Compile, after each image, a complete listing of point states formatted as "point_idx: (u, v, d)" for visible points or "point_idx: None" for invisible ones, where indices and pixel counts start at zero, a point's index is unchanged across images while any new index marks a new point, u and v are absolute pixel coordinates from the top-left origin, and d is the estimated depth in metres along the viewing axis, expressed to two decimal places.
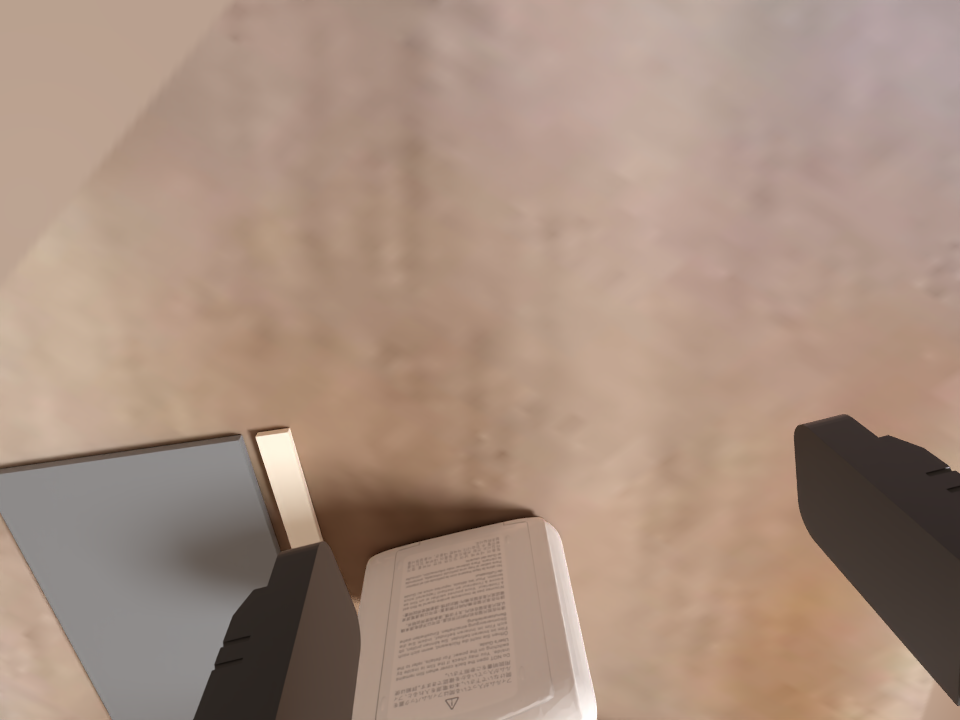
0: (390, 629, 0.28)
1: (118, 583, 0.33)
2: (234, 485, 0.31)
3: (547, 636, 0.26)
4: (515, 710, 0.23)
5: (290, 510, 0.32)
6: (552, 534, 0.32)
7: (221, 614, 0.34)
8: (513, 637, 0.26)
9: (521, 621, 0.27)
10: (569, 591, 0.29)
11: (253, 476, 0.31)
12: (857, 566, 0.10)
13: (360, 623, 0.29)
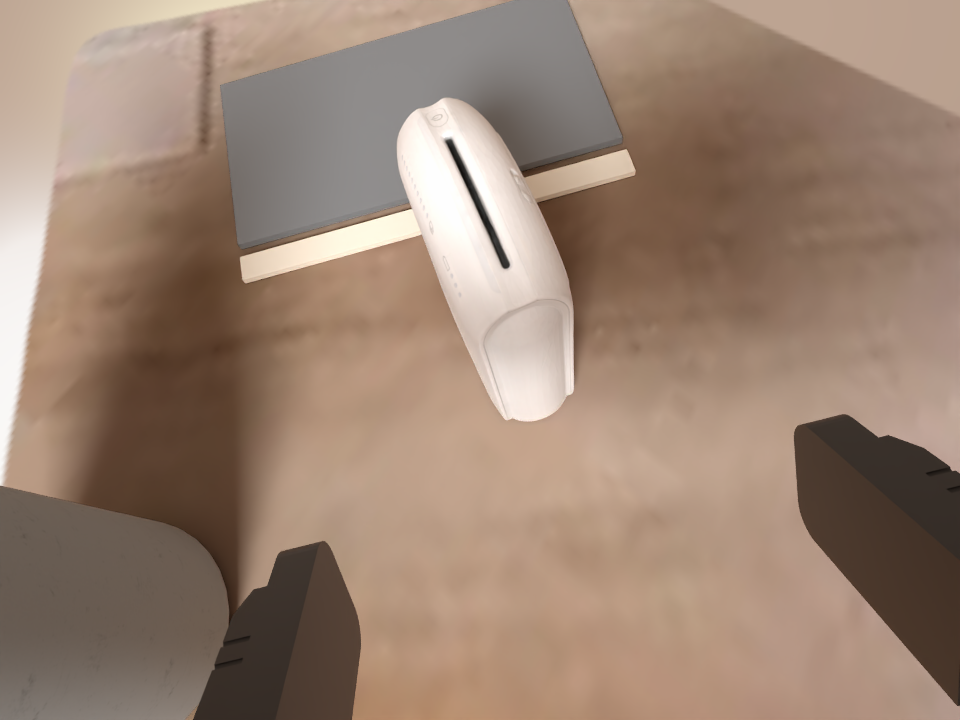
0: None
1: (463, 63, 0.39)
2: (576, 136, 0.36)
3: None
4: (551, 238, 0.23)
5: (553, 177, 0.36)
6: (561, 399, 0.31)
7: None
8: None
9: None
10: (552, 381, 0.27)
11: (583, 150, 0.36)
12: (857, 566, 0.10)
13: None
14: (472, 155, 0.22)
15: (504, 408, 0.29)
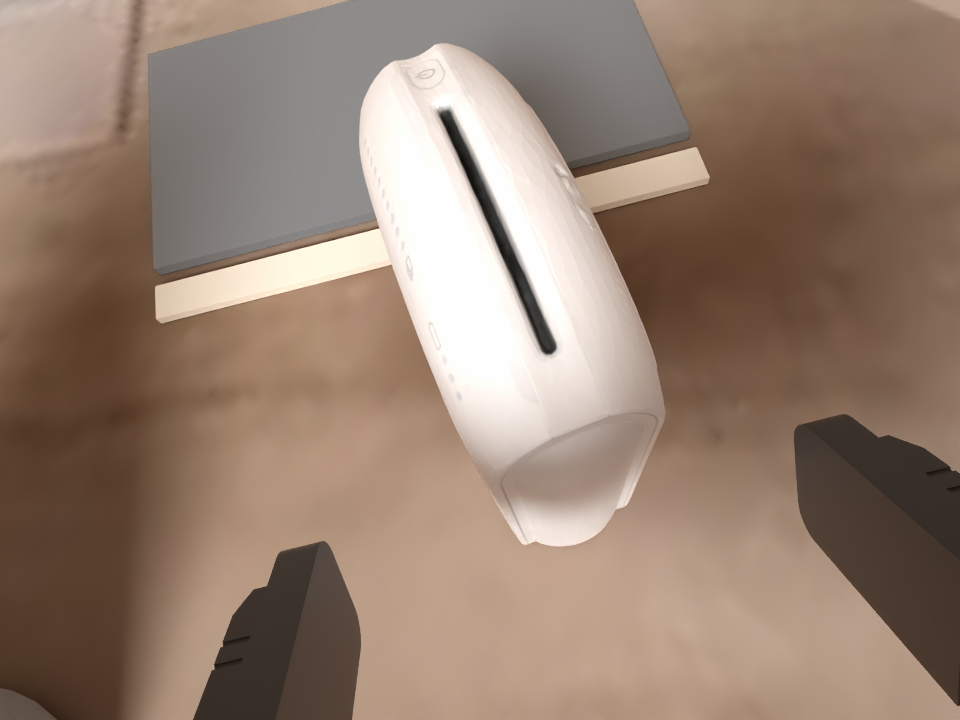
0: None
1: (471, 29, 0.29)
2: (625, 128, 0.26)
3: None
4: (628, 292, 0.12)
5: (593, 185, 0.26)
6: (609, 518, 0.20)
7: None
8: None
9: None
10: (604, 509, 0.17)
11: (635, 148, 0.26)
12: (857, 566, 0.10)
13: None
14: (487, 138, 0.12)
15: (524, 537, 0.19)
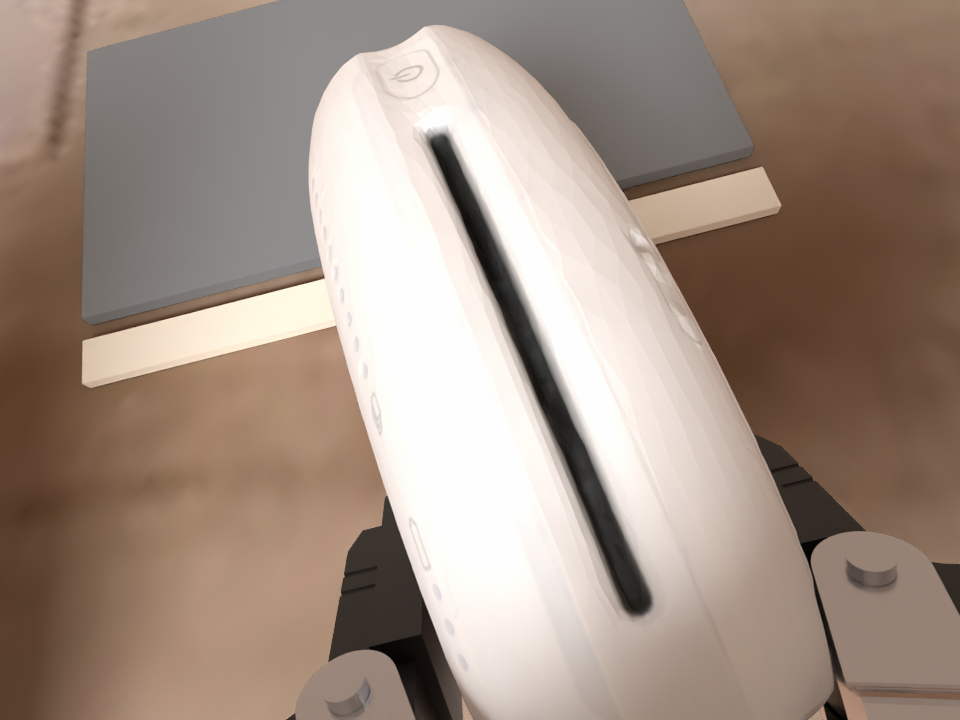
0: None
1: (477, 21, 0.24)
2: (671, 143, 0.21)
3: None
4: (762, 457, 0.07)
5: None
6: None
7: None
8: None
9: None
10: None
11: (685, 168, 0.21)
12: None
13: None
14: (512, 188, 0.07)
15: None
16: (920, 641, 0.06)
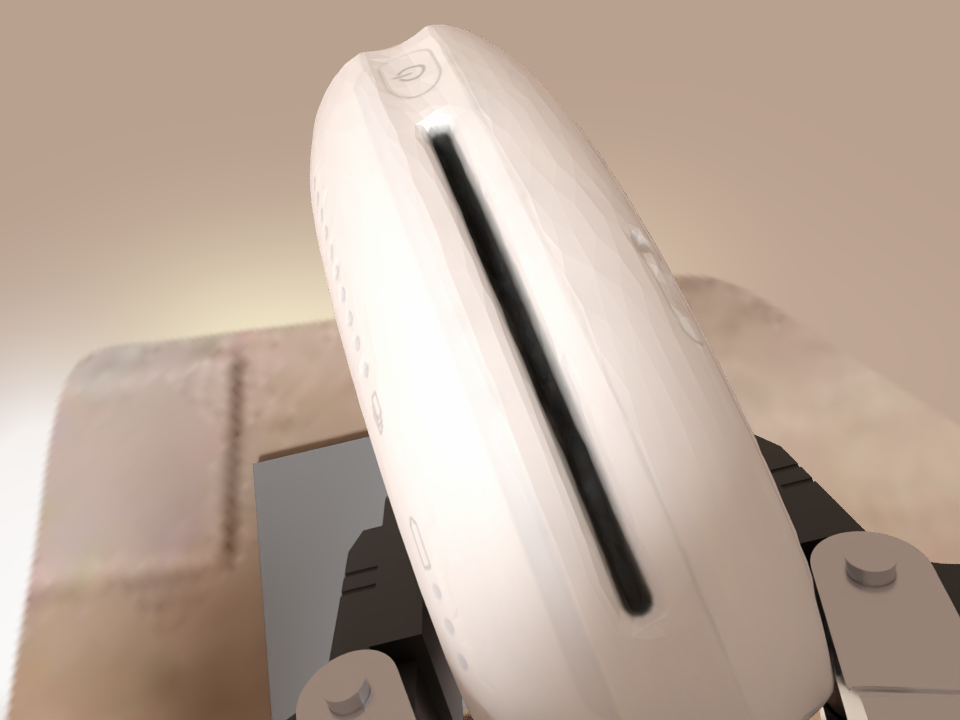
0: None
1: None
2: None
3: None
4: (763, 457, 0.07)
5: None
6: None
7: None
8: None
9: None
10: None
11: None
12: None
13: None
14: (514, 186, 0.07)
15: None
16: (918, 641, 0.06)
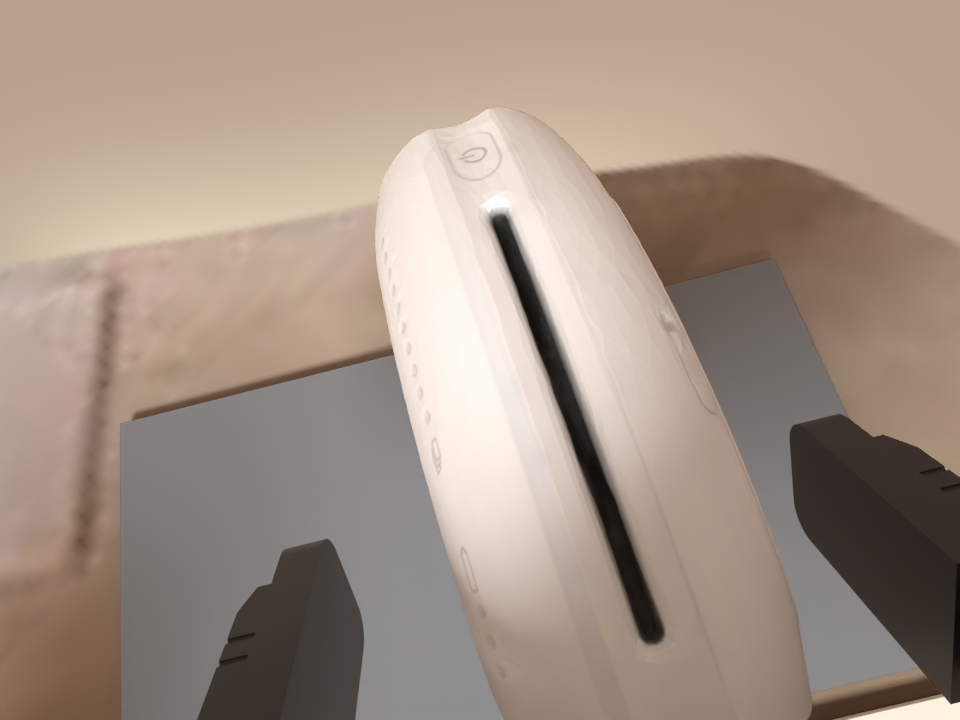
0: None
1: None
2: (852, 642, 0.17)
3: None
4: None
5: None
6: None
7: None
8: None
9: None
10: None
11: (870, 677, 0.17)
12: (852, 565, 0.10)
13: None
14: (563, 274, 0.08)
15: None
16: None
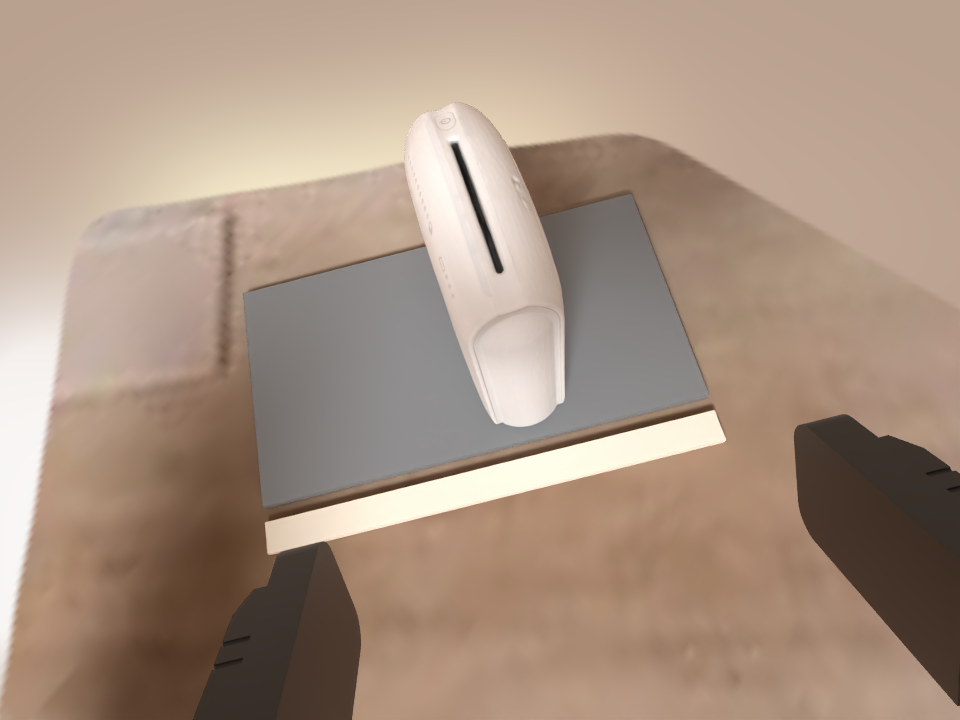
0: None
1: None
2: (654, 389, 0.32)
3: None
4: (547, 247, 0.23)
5: (629, 442, 0.31)
6: (551, 408, 0.31)
7: None
8: None
9: None
10: (542, 389, 0.28)
11: (663, 407, 0.32)
12: (857, 566, 0.10)
13: None
14: (475, 160, 0.23)
15: (494, 412, 0.30)
16: None
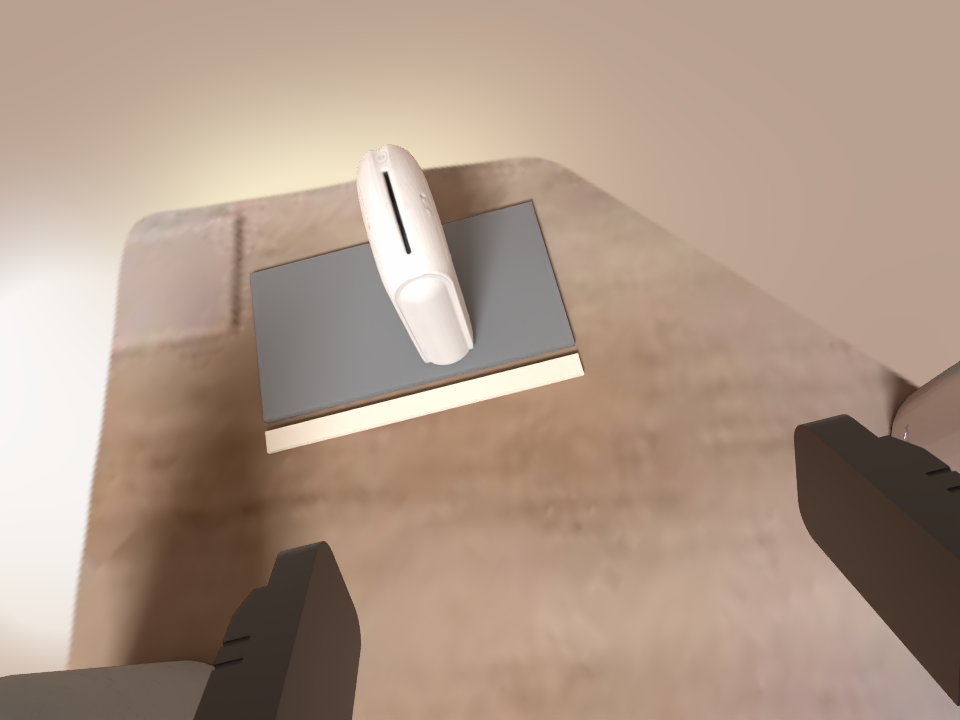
0: None
1: None
2: (538, 339, 0.45)
3: (457, 286, 0.39)
4: (442, 237, 0.37)
5: (518, 375, 0.45)
6: (464, 351, 0.44)
7: None
8: (454, 269, 0.39)
9: (457, 280, 0.40)
10: (450, 334, 0.41)
11: (543, 351, 0.45)
12: (857, 566, 0.10)
13: None
14: (396, 183, 0.36)
15: (422, 352, 0.43)
16: None
